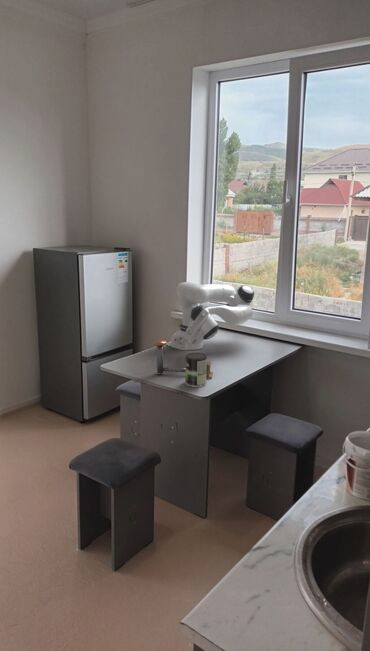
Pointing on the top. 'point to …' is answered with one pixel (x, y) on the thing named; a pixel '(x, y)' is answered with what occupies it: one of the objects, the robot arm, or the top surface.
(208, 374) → the eye post
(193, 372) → the coffee can
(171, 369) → the hook rod
